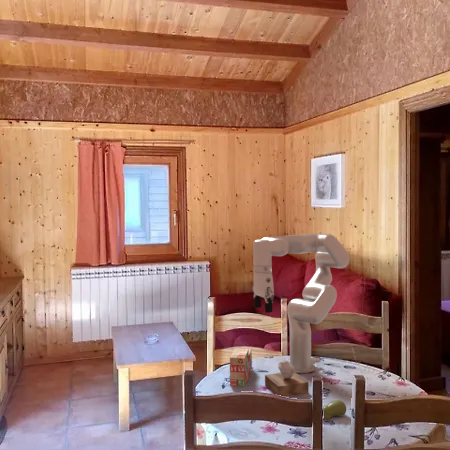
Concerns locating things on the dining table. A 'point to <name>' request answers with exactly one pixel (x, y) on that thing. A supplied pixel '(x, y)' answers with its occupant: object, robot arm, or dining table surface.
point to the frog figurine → (286, 369)
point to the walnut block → (286, 384)
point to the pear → (334, 409)
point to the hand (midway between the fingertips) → (263, 309)
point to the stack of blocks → (240, 366)
